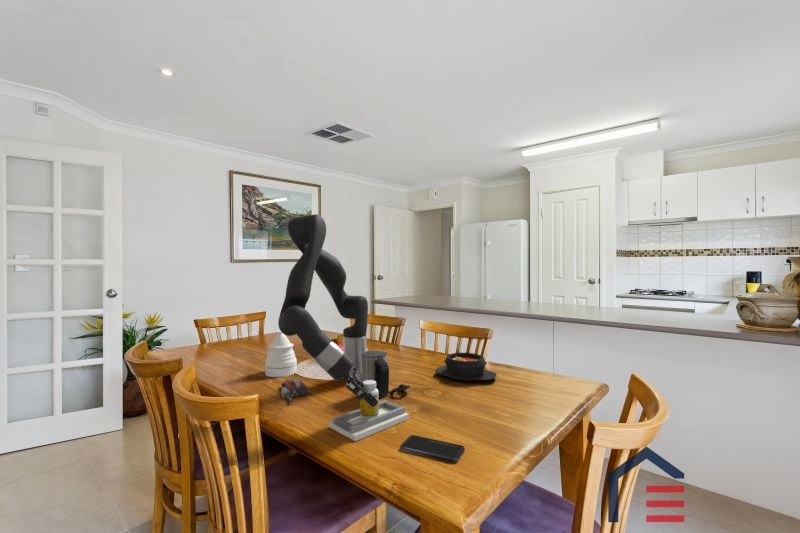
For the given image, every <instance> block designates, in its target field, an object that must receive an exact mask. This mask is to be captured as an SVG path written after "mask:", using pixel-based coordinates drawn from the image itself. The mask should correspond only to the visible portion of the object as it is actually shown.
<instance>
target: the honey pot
mask: <svg viewBox="0 0 800 533" xmlns="http://www.w3.org/2000/svg"><path fill="white" fill-rule="evenodd" d="M275 334H276V336H275V337H274V339H273V341H272V343H271V344H269V346H268V348H269V351H268V353H267V356H266V359H265V361H264V362H265V363H264V365H265V366H264V368H265V369H264V372H265V373H264V374H265V376H267V377H270V378H281V377H283V378H285V377H288V376H289V375H290V376H292V374H293V375H295V374H296V373H297V372H298V362H297V360H298V359H297V357H296V354H295V351H294V349H293V347H294V343H292V342H291V341H290V340H289V339H288V337H287V335H285V334H283V333H282V332H281V331H280V330H276V333H275ZM296 371H297V372H296ZM295 372H296V373H295ZM294 373H295V374H294Z"/></svg>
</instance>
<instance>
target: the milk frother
mask: <svg viewBox="0 0 800 533" xmlns="http://www.w3.org/2000/svg"><path fill="white" fill-rule="evenodd" d="M361 355H362V375H363V376H364V377H365V378H366V379H367V380H374V381H376V389H378V392H379V399H382V398H385V397H387V396H388V394H391V393H392V394H393V393H396V392H397V393H398V392H400V393H402V392H405V391H406V390H407V389H410V388H411V385H410V384H408V385H406V384H404V383H401V384H399V385H398V387H394V388H392V389H391V390H389V386H390V368H389V367H390V366H389V364H388V362H387V355H388V352H387V351H383V350H366V352H363V353H361Z"/></svg>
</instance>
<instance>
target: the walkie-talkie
mask: <svg viewBox="0 0 800 533" xmlns="http://www.w3.org/2000/svg"><path fill="white" fill-rule="evenodd" d="M281 387H282V388H281V389H280V390H281V396H282V398H284V397H286V398H285V399H287V401H289V402H290V403H294V401H293V399H292V398H293V396H294V397H298V396H297V395H300V396H304V395H305V394H306V395H308V393H309V387H308V386H307V385H306V384H305V383H304V382H303V380H301V379H299V378H289V379H285V380H284V381H283V382H282V383H281Z"/></svg>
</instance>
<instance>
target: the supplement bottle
mask: <svg viewBox="0 0 800 533" xmlns="http://www.w3.org/2000/svg"><path fill="white" fill-rule="evenodd" d="M363 383H364V384H365V388H366V389H367V390H368V391H369V392H370V393H371V394H372V395H373V396H374V397H375V398H376V399H377V400H378V404H377V405H376V406H375V407H372V406H371V405H370V404H369V403H368V402H367V401H366V400H365V399H362V400H361V399H359V409H360V416H361V417H363V418H367V419H371V418H373V417H376V416H378V414H379V402H380V401H379V399H380V398H379V392H378V389H376V381H374V380H366V381H363ZM360 393H361V394H362V393H363V392H362V391H361V390H360Z"/></svg>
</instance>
